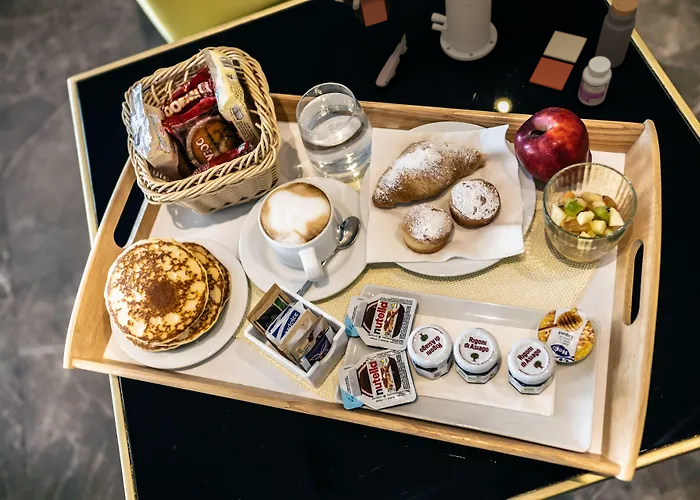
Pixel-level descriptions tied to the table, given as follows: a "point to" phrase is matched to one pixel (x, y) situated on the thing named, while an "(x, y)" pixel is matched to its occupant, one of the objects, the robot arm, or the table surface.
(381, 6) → the terracotta block
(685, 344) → the table surface
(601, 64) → the pill bottle
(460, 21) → the robot arm
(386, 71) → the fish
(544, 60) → the clay pad
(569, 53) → the cream pad
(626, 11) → the bottle
